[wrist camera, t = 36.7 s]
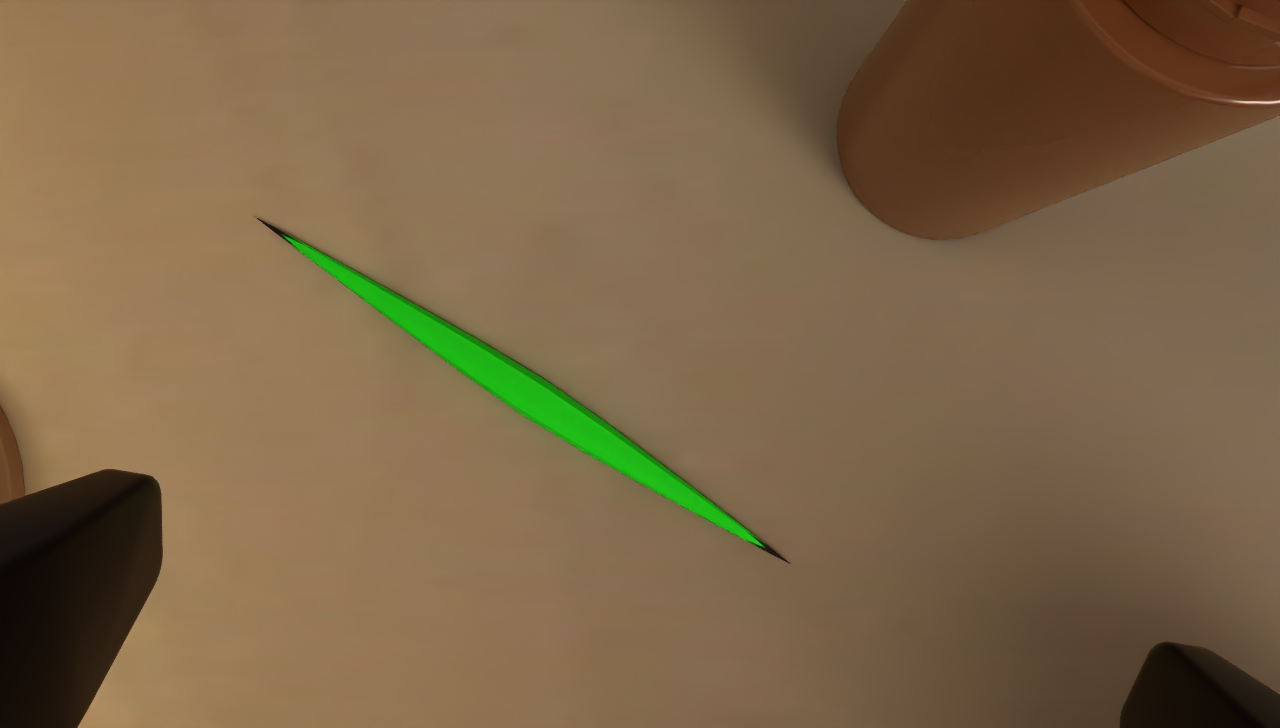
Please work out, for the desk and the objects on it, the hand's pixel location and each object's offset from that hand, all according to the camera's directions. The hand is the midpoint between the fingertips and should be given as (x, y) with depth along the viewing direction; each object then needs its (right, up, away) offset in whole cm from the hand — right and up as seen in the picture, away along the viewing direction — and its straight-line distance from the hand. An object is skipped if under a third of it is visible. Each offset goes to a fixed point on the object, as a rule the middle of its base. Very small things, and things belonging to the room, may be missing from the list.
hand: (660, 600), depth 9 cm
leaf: (-3, +2, +13) cm, 13 cm away
